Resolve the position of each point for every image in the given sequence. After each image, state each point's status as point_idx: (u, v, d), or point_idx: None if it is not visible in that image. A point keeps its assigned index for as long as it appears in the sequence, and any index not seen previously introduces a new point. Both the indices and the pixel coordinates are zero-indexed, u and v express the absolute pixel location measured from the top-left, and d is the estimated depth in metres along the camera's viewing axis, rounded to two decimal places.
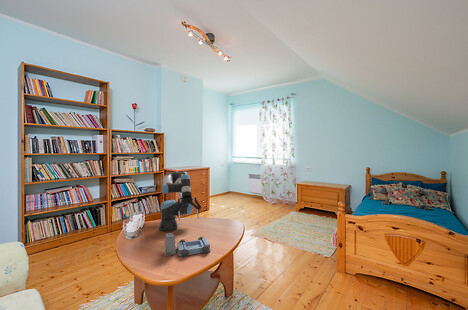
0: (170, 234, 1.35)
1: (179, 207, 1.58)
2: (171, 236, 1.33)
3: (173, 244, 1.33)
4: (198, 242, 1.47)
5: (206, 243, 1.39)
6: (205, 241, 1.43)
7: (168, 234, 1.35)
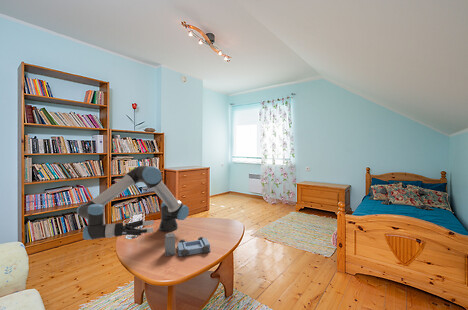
0: (170, 234, 1.35)
1: None
2: (171, 236, 1.33)
3: (173, 244, 1.33)
4: (198, 242, 1.47)
5: (206, 243, 1.39)
6: (205, 241, 1.43)
7: (168, 234, 1.35)
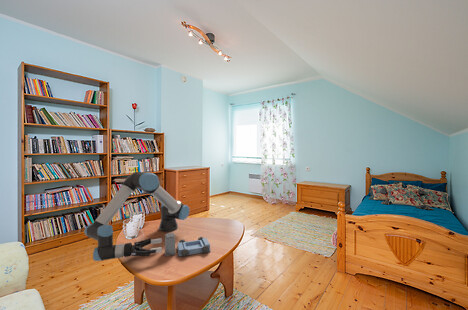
0: (170, 234, 1.35)
1: (146, 244, 1.36)
2: (171, 236, 1.33)
3: (173, 244, 1.33)
4: (198, 242, 1.47)
5: (206, 243, 1.39)
6: (205, 241, 1.43)
7: (168, 234, 1.35)
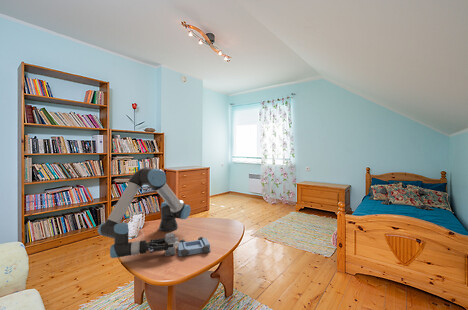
0: (170, 234, 1.35)
1: (162, 243, 1.37)
2: (171, 236, 1.33)
3: None
4: (198, 242, 1.47)
5: (206, 243, 1.39)
6: (205, 241, 1.43)
7: (168, 234, 1.35)
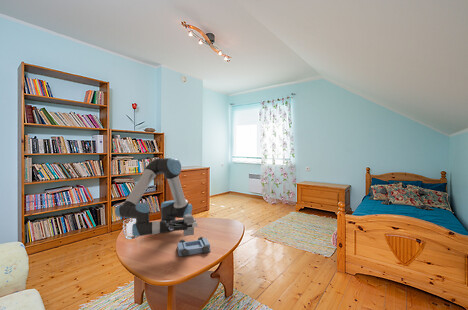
0: (189, 215, 1.38)
1: None
2: (190, 217, 1.36)
3: None
4: (198, 242, 1.47)
5: (206, 243, 1.39)
6: (205, 241, 1.43)
7: (187, 215, 1.38)
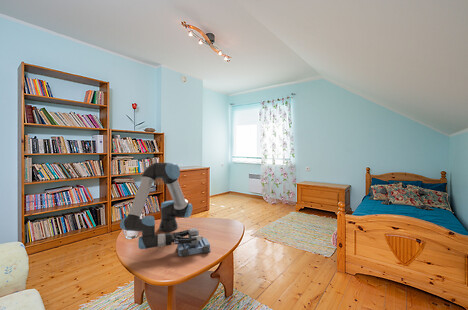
0: (193, 229, 1.40)
1: (184, 235, 1.43)
2: (195, 231, 1.38)
3: None
4: None
5: (206, 243, 1.39)
6: (205, 241, 1.43)
7: (192, 229, 1.40)
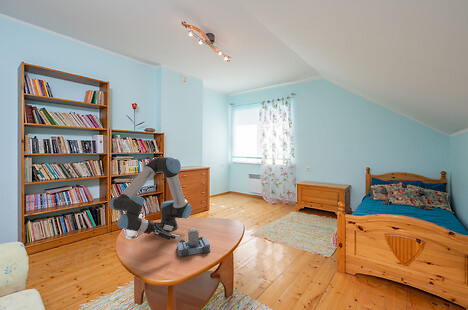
0: (193, 229, 1.40)
1: (159, 227, 1.41)
2: (195, 231, 1.38)
3: (197, 239, 1.38)
4: None
5: (206, 243, 1.39)
6: (205, 241, 1.43)
7: (192, 229, 1.40)
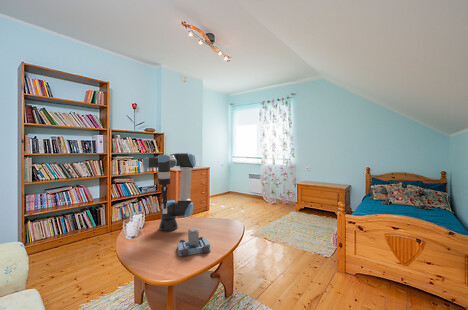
0: (193, 229, 1.40)
1: (162, 194, 1.43)
2: (195, 231, 1.38)
3: (197, 239, 1.38)
4: None
5: (206, 243, 1.39)
6: (205, 241, 1.43)
7: (192, 229, 1.40)
